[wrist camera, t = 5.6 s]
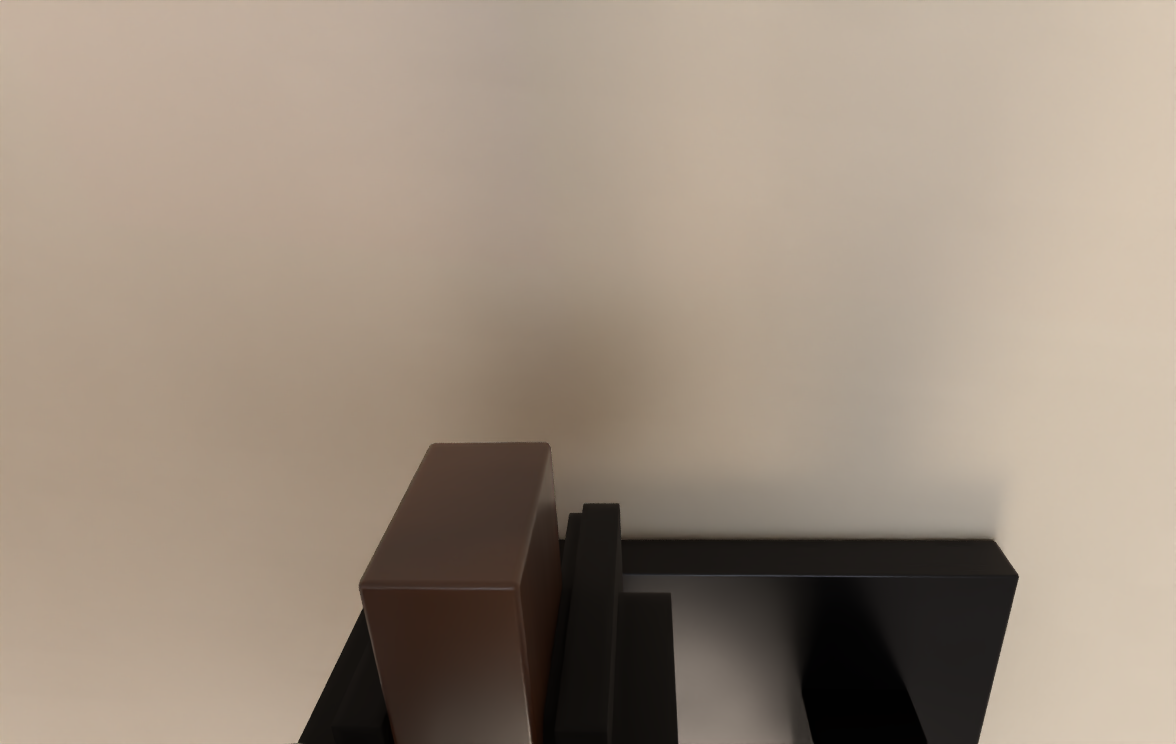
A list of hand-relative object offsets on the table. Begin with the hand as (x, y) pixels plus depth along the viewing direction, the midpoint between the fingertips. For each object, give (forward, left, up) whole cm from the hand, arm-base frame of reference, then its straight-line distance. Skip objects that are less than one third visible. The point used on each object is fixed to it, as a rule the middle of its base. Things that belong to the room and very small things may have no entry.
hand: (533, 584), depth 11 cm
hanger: (0, -7, +2) cm, 8 cm away
